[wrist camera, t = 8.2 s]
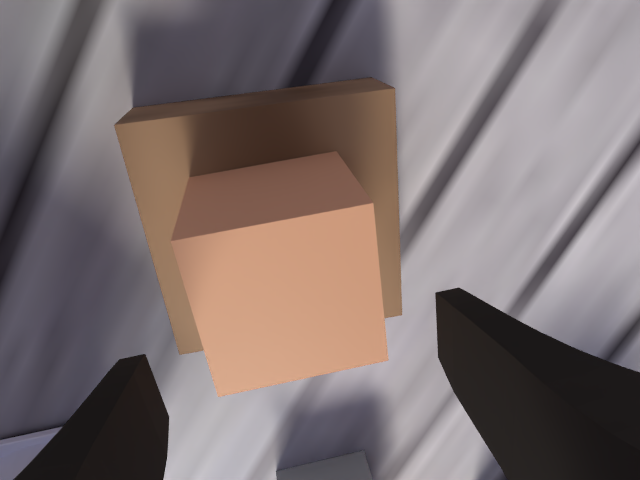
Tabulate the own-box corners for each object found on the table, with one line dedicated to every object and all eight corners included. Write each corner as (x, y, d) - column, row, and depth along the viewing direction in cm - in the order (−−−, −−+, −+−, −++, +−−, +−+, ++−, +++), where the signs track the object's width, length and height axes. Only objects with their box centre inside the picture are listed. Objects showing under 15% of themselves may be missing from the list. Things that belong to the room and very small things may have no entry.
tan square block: (187, 306, 22) (179, 354, 19) (134, 105, 18) (113, 125, 15) (379, 273, 23) (402, 315, 20) (368, 75, 19) (395, 88, 16)
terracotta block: (222, 302, 18) (218, 396, 14) (188, 177, 16) (170, 241, 12) (352, 276, 19) (388, 360, 14) (336, 150, 16) (373, 203, 12)
